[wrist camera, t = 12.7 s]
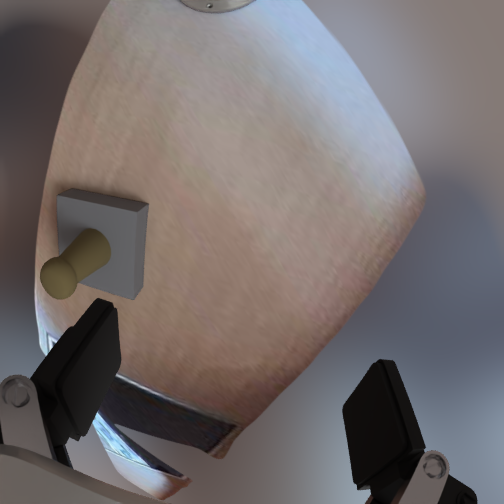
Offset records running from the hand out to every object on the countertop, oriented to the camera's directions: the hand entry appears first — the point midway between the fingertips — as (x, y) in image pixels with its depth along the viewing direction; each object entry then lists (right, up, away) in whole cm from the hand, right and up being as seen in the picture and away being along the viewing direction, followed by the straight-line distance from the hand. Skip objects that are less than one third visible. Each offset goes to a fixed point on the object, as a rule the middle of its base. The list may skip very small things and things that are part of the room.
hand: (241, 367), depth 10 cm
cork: (-22, +5, +28) cm, 37 cm away
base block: (-22, +6, +32) cm, 40 cm away
